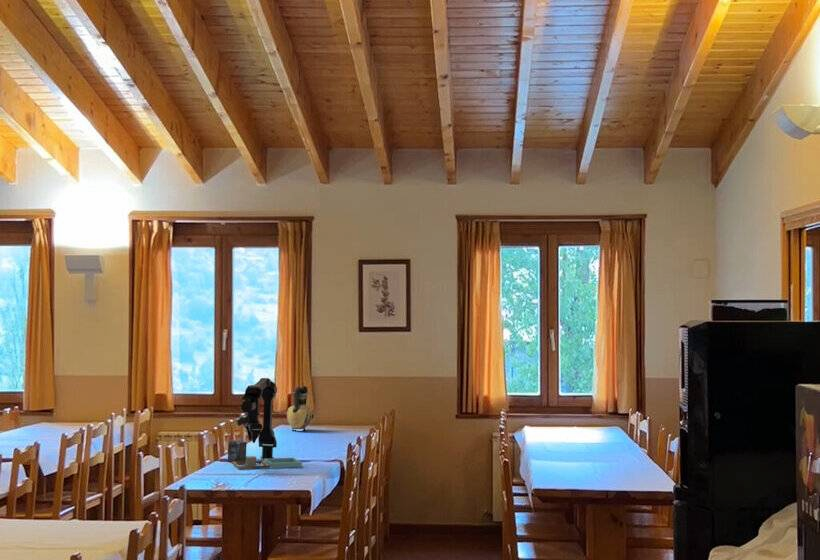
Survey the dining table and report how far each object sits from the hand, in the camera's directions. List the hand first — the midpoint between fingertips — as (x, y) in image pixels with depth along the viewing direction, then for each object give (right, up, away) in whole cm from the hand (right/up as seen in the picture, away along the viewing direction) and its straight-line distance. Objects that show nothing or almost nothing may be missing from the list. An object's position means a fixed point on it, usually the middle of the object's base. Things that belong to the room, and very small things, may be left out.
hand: (251, 441), depth 441 cm
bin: (+15, -13, +6) cm, 21 cm away
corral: (0, -13, -1) cm, 12 cm away
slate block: (0, -13, -1) cm, 13 cm away
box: (-10, -13, +12) cm, 20 cm away
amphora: (+5, -20, +148) cm, 150 cm away
